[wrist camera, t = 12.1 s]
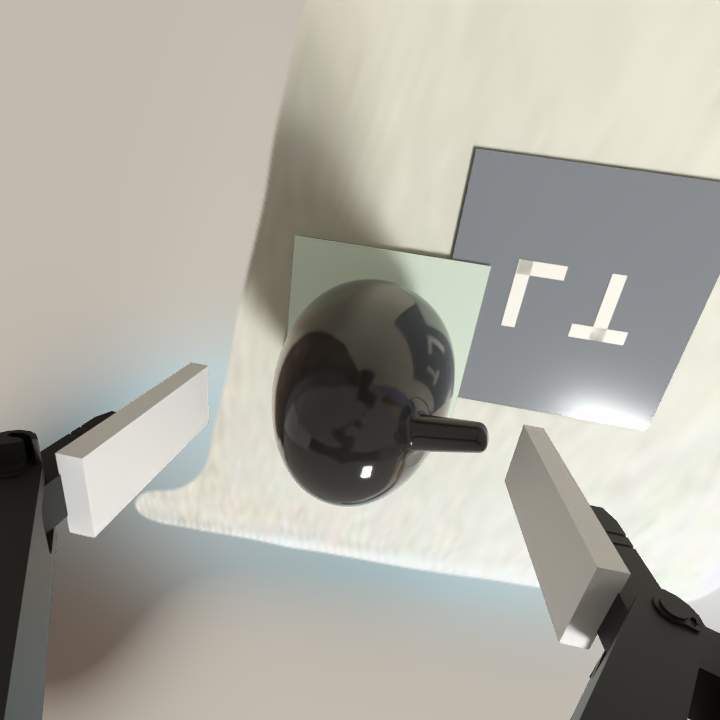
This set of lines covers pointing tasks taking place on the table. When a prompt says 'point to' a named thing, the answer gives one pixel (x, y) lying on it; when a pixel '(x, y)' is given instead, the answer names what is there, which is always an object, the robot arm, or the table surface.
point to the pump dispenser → (366, 393)
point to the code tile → (584, 283)
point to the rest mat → (416, 272)
